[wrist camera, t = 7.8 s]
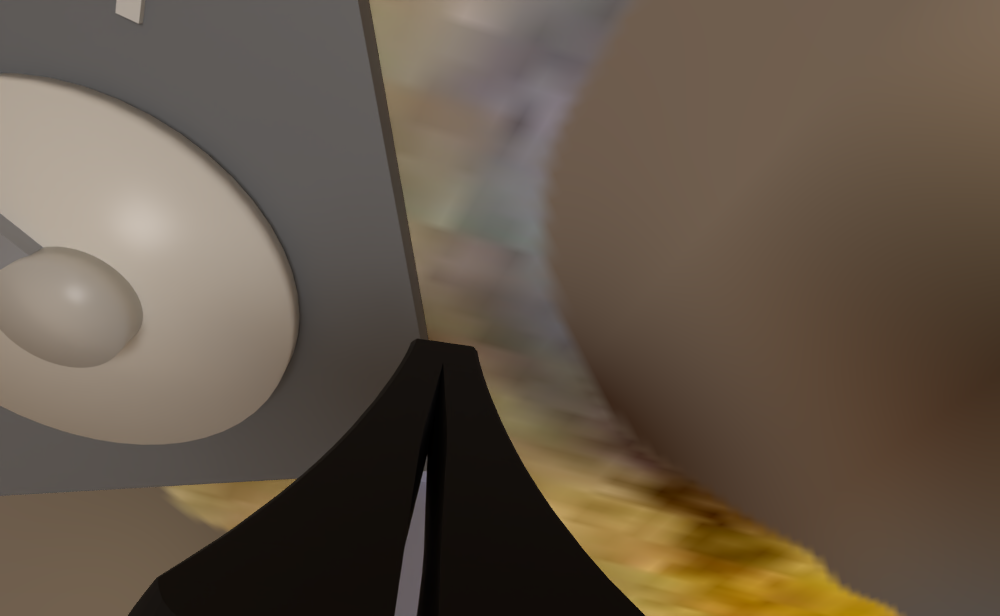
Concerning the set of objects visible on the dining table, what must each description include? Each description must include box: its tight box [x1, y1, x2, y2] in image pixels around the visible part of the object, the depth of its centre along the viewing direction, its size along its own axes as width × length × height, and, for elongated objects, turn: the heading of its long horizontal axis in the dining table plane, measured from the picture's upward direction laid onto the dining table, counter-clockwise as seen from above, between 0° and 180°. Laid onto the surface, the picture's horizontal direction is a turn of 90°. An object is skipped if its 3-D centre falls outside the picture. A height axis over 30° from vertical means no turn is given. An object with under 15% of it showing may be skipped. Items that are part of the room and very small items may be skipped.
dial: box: [0, 73, 300, 445], centre depth 16 cm, size 17×14×5 cm
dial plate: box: [0, 0, 428, 496], centre depth 20 cm, size 22×22×2 cm
